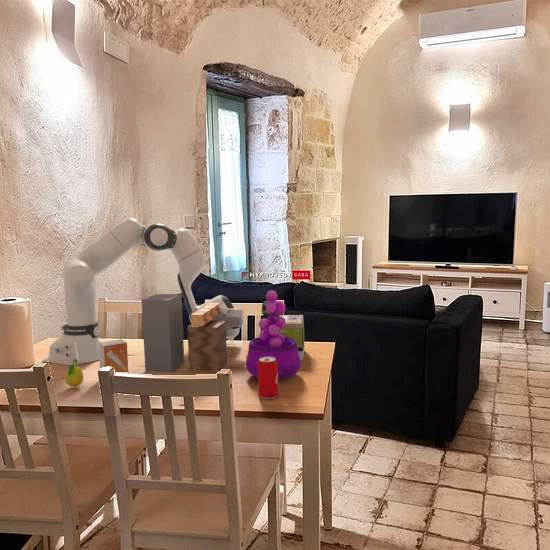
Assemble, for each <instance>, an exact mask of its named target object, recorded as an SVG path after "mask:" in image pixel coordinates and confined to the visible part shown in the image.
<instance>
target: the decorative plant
mask: <svg viewBox="0 0 550 550" xmlns="http://www.w3.org/2000/svg"><path fill="white" fill-rule="evenodd" d="M278 298H279V296H278V294H277V292H276V291H275V290H269V291H267V293H266V295H265V299H266V301H270V302H269V303H268V304H267V305H266V311H267V312H269V320H268V319H263V318H261V319H260V320H259V321H258V327H259V328H260V332H259V337H255V338H253V339H251V340H250V341H249V343H248V350H247V355H246V359H245V369H246V371H247V372H248V373H249V374H250V376H253V377H255V378H258V365H257V364H258V362H259V358H261V357H275V358H276V361H277V363H278V381H279V380H283V379H286V378H289V377H293V376H294V375H296V374H297V373H298V372H299V370H300V369H301V364H302V363H301V362H302V361H301V360H300V357H299V353H298V349H297V343H296V340H295V339H293V338H290V337H285V336H283V335H281V334H279V332H280V328H283V327H284V326H285V324H286V321H285V319H284V318H283V317H277V318H276V319H275V314H277V315H281V314H282V313H284V314H285V311H286V304H285V303H284V301H283V302H281V300H278ZM274 301H276V302H274ZM273 302H274V303H273ZM266 329H267V330H266Z"/></svg>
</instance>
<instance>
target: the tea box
mask: <svg viewBox="0 0 550 550" xmlns="http://www.w3.org/2000/svg"><path fill="white" fill-rule="evenodd" d="M279 317H283V318H284V319H285V321H286V324H285V326H284V327H283V328H280V332H279V334H281V335H283V336H285V337H290V338H293V339H295V340H296V343H297V349H298V353H299V357H300V361H303V360H304V355H305V323H304V322H305V321H304V319H305V318H304V315H303V314H294V315H293V314H287V315H285V314H284V315H280V316H279Z"/></svg>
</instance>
